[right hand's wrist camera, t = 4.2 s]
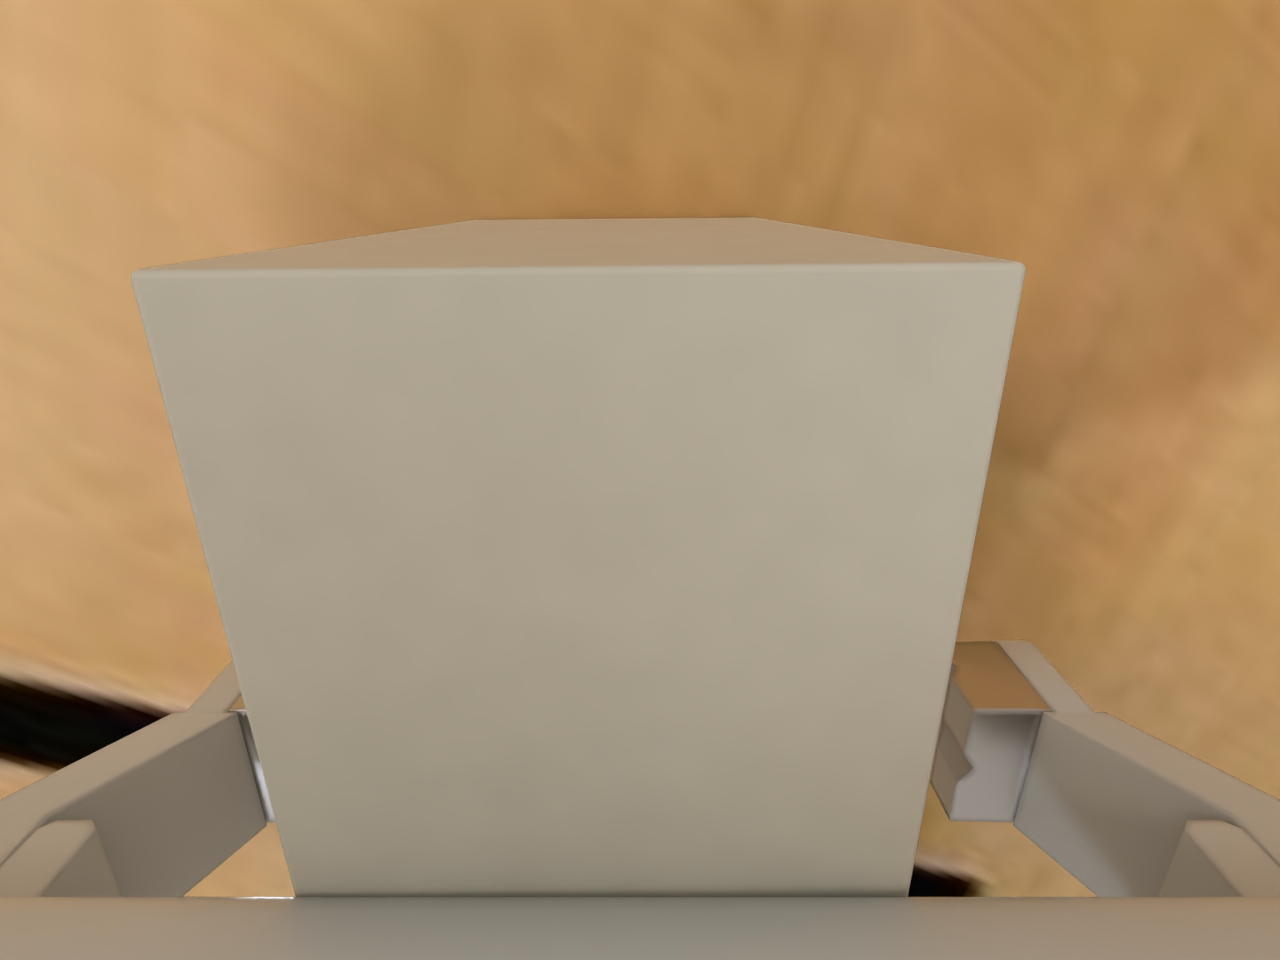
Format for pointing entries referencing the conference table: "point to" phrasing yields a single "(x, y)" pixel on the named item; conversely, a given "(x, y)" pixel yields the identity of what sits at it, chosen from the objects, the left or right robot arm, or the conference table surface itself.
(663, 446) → the bar
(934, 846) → the conference table surface
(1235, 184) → the conference table surface
